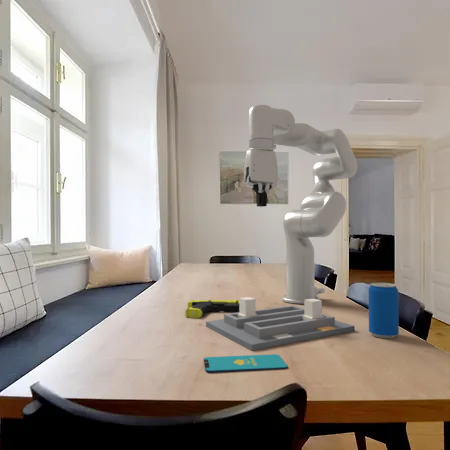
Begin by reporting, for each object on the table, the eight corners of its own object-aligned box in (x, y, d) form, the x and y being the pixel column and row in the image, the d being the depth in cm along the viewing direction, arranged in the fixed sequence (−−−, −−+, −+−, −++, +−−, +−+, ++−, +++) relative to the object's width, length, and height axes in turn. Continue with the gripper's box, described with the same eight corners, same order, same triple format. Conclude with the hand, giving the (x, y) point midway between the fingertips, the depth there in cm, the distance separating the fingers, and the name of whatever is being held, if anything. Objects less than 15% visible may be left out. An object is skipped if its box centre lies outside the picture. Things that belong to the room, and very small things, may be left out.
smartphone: (288, 366, 68) (206, 370, 66) (288, 370, 68) (206, 374, 66) (278, 353, 75) (203, 357, 73) (278, 357, 75) (203, 361, 73)
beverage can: (398, 333, 90) (398, 283, 90) (398, 340, 84) (398, 287, 84) (369, 330, 92) (369, 281, 92) (367, 337, 87) (367, 285, 87)
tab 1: (250, 318, 98) (250, 296, 98) (257, 321, 96) (257, 298, 96) (237, 320, 96) (237, 298, 97) (244, 323, 94) (243, 300, 94)
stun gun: (249, 309, 105) (248, 299, 120) (181, 309, 106) (188, 299, 121) (249, 320, 105) (248, 308, 120) (181, 319, 106) (188, 308, 121)
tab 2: (314, 320, 96) (314, 298, 96) (323, 323, 93) (323, 300, 93) (302, 322, 94) (302, 299, 94) (311, 325, 91) (311, 302, 91)
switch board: (297, 312, 111) (296, 302, 111) (354, 330, 92) (354, 317, 92) (205, 326, 97) (205, 313, 97) (251, 350, 78) (251, 335, 78)
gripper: (273, 151, 122) (274, 207, 122) (234, 146, 115) (234, 206, 115) (288, 146, 116) (288, 206, 115) (247, 142, 108) (247, 205, 108)
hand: (261, 206), depth 115 cm, fingers closed
